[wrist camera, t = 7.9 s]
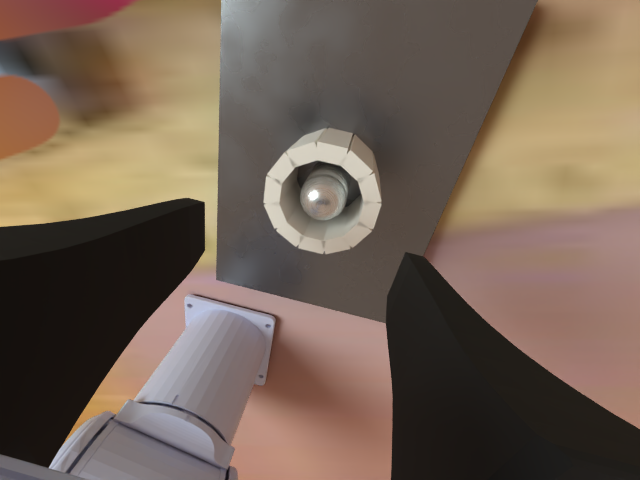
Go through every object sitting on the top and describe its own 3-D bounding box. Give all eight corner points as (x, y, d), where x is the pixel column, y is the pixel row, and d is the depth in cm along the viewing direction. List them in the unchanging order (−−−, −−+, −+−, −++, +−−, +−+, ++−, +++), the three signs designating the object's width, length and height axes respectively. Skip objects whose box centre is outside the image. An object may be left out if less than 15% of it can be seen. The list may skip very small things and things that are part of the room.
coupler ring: (390, 141, 16) (395, 159, 13) (363, 229, 19) (362, 263, 16) (291, 119, 16) (270, 130, 13) (279, 209, 19) (259, 238, 16)
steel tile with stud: (391, 315, 23) (396, 372, 19) (221, 272, 24) (187, 318, 19) (529, -1, 13) (610, -41, 9) (232, -65, 14) (165, -133, 9)
